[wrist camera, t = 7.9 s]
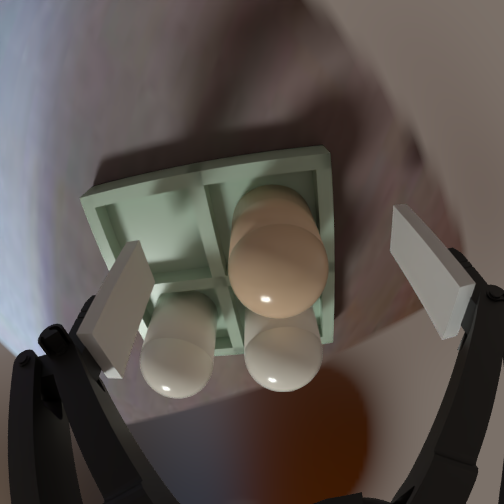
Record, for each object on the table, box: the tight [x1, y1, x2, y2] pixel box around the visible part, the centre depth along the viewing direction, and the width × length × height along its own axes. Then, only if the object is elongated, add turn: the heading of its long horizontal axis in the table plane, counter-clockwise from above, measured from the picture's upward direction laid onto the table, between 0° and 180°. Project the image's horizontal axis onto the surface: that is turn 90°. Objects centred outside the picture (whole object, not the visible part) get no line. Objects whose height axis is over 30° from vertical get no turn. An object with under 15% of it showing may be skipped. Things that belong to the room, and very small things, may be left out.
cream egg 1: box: [140, 290, 218, 398], centre depth 19 cm, size 5×5×7 cm
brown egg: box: [228, 184, 329, 319], centre depth 15 cm, size 5×5×7 cm
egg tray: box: [80, 145, 335, 356], centre depth 20 cm, size 14×14×2 cm
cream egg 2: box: [244, 305, 323, 392], centre depth 19 cm, size 5×5×7 cm
